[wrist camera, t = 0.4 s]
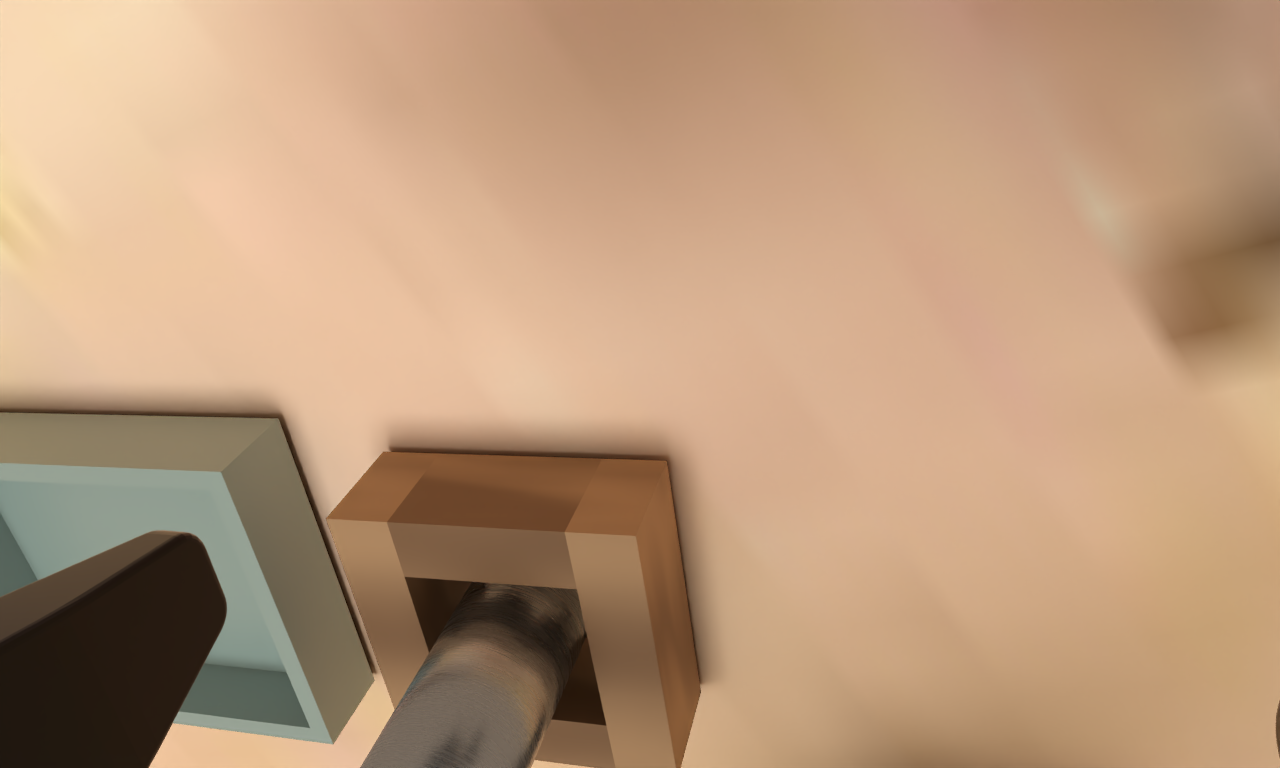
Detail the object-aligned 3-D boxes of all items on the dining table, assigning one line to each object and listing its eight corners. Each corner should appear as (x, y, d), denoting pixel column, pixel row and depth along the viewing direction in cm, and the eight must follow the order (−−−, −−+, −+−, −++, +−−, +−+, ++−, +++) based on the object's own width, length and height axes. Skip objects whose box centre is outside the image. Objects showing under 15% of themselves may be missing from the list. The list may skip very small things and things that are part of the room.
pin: (613, 624, 28) (510, 884, 21) (503, 615, 29) (372, 861, 22) (594, 529, 26) (476, 778, 19) (478, 522, 27) (328, 758, 20)
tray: (374, 680, 32) (333, 744, 29) (82, 648, 35) (26, 703, 33) (278, 418, 27) (221, 472, 25) (-49, 411, 30) (-125, 457, 28)
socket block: (700, 691, 28) (677, 778, 25) (450, 666, 30) (406, 743, 28) (666, 460, 24) (635, 535, 22) (383, 451, 26) (326, 518, 24)
